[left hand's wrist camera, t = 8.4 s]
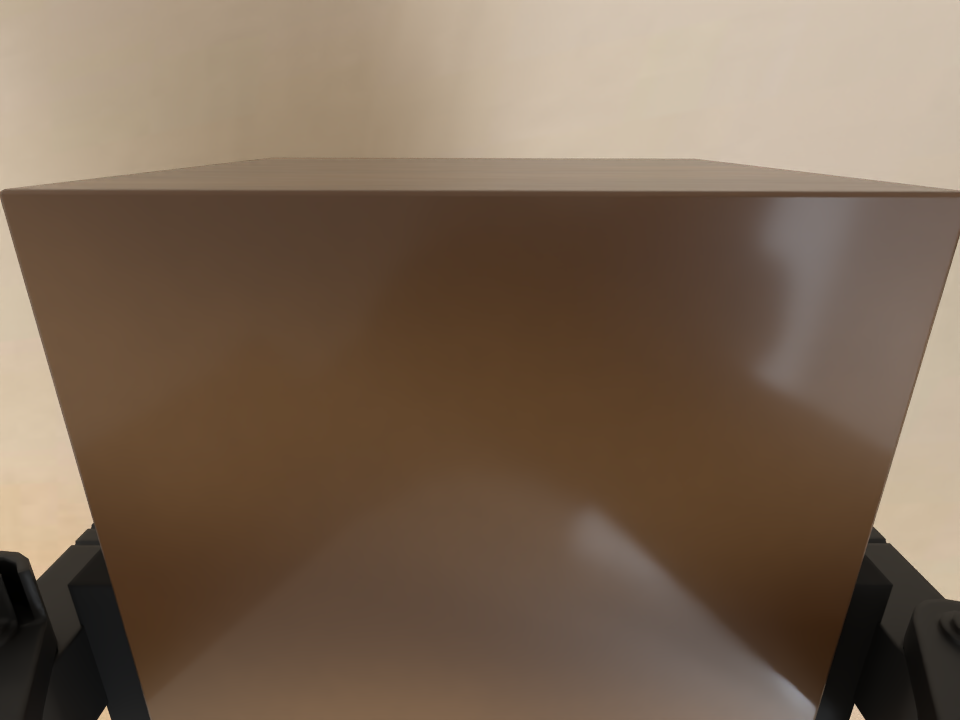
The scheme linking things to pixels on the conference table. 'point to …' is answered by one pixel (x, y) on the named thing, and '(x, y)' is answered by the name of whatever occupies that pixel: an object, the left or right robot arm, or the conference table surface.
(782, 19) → the conference table surface
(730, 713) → the thick board
